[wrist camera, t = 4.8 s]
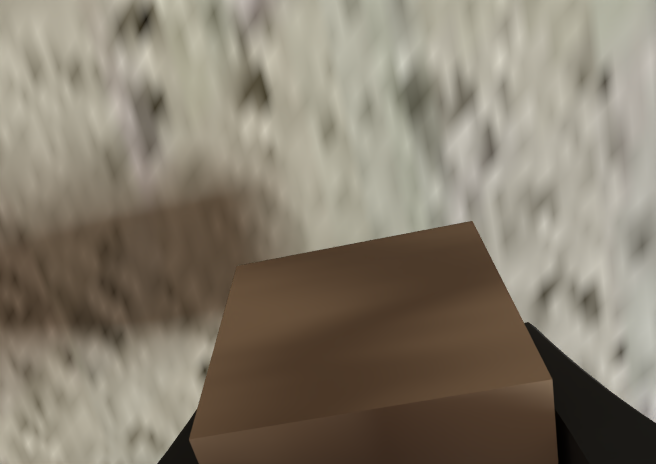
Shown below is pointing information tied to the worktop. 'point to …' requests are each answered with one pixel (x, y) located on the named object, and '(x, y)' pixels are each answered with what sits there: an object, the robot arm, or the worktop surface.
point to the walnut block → (376, 360)
